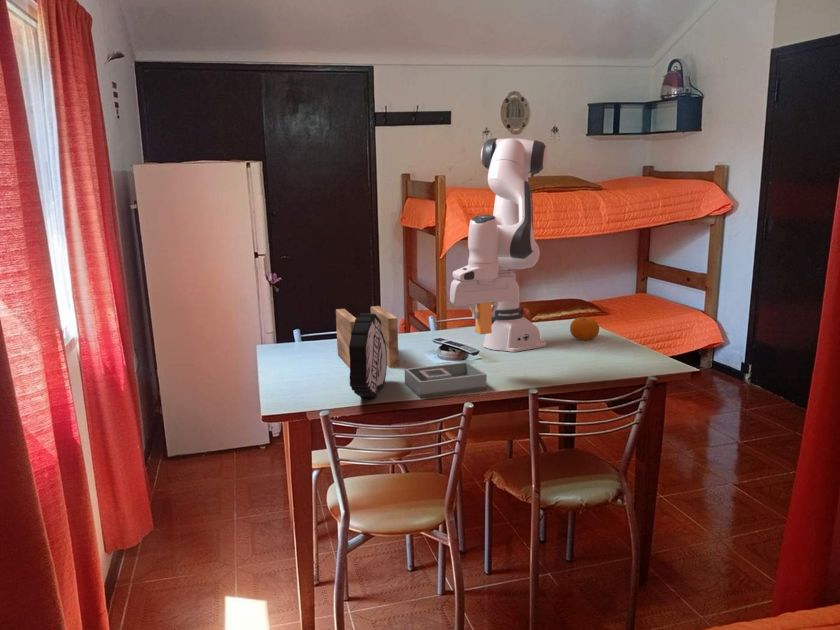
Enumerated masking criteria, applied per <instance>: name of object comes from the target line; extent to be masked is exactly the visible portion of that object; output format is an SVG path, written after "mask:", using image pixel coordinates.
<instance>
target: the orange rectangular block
mask: <svg viewBox="0 0 840 630" xmlns="http://www.w3.org/2000/svg"><path fill="white" fill-rule="evenodd" d="M474 309H475V311H476V312H478V313H479V319H474V320H475V333H477V334H479V335H486V334H489V333H492V313H491V302H490V303H480V304H476V308H474Z"/></svg>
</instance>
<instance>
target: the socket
mask: <svg viewBox="0 0 840 630" xmlns="http://www.w3.org/2000/svg"><path fill="white" fill-rule="evenodd" d="M445 378H452V375H451V374H450V373H448V372H447V371H446V370H444V369H443V368H439V369H430V370H422V371H419V379H420V380H421V381H428V380H437V379H445Z"/></svg>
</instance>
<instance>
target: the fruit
mask: <svg viewBox="0 0 840 630" xmlns="http://www.w3.org/2000/svg"><path fill="white" fill-rule="evenodd" d="M569 332H570V333H571V335H572V337H574V338H575V339H577V340H582V341H590V340H593V339H595V338H596V337H597V336H598V334H599V333H600V326H599V324H598V322H597V321H596V320H595V319H594V318H592V317H589V316H579V317H576V318H575V319H573V320H572V322H571V323H570V327H569Z"/></svg>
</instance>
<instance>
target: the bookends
mask: <svg viewBox="0 0 840 630" xmlns="http://www.w3.org/2000/svg"><path fill="white" fill-rule="evenodd" d="M370 314H376V316H377V317H378V318H379V319H380V321H381V331H382V334H383V337H384V340H385V343H386V349H387V367H388V368H398V367H399V337H398V336H399V333H398V331H399V330H398V327H399V326H398V317H397V316H395V315H393V314H392V313H390V312H389V311H387V310H386V309H385V308H384V307H382V306H380V305H375V306H373V305H372V306H370ZM355 319H356V317H355V316H353V314H352V313H350V312H349V311H348V310H346V308H337V309H335V325H336V345H337V356H338V357H339V359H341V360H342V361H343V362H344V364H345V365H346V366H347V368H349V369H350V355H349V344H350V339H351V333H352V328H353V325H354V323H355Z"/></svg>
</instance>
